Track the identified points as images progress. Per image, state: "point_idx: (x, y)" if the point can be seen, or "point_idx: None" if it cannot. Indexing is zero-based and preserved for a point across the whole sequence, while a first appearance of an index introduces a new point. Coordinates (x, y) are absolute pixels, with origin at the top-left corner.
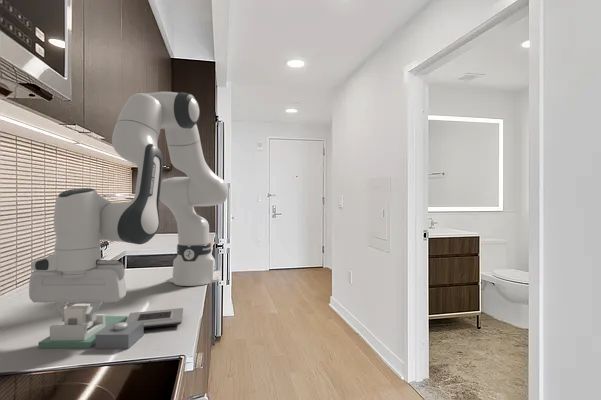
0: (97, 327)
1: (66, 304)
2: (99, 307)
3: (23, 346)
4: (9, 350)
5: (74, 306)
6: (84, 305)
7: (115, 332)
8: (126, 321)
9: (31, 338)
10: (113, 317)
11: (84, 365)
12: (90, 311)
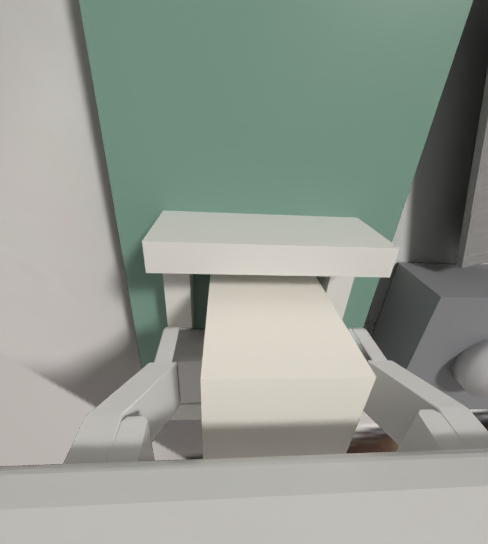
0: (347, 298)
1: (149, 436)
2: (428, 383)
3: (71, 348)
4: (53, 373)
5: (243, 436)
6: (317, 416)
7: (462, 394)
8: (485, 173)
9: (14, 280)
10: (366, 12)
11: (362, 433)
12: (371, 418)
